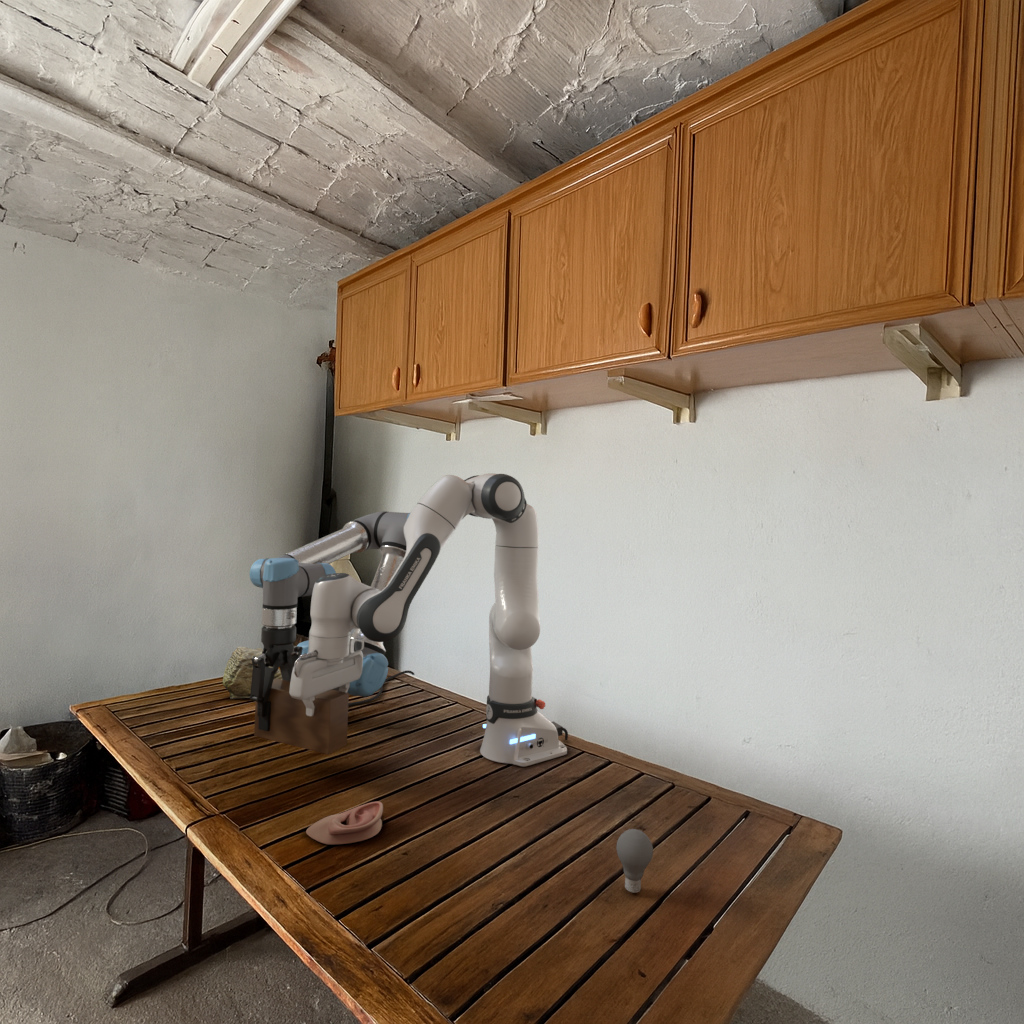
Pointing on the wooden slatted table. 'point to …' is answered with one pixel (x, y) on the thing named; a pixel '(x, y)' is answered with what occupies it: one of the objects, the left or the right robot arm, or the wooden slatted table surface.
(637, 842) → the light bulb
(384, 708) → the wooden slatted table surface
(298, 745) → the box
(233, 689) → the fossil
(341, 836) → the anatomical model
